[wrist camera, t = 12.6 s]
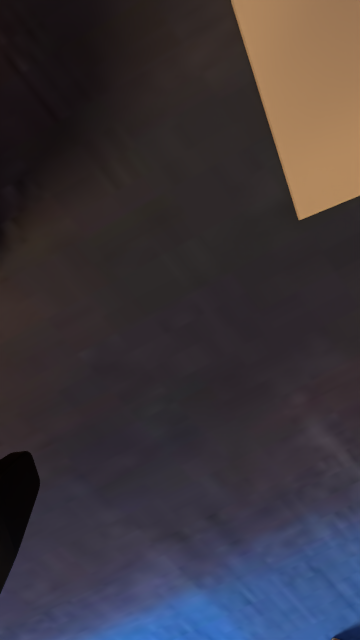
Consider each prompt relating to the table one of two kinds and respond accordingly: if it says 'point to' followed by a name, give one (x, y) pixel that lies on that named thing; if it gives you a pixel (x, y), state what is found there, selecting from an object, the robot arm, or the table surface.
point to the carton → (309, 92)
